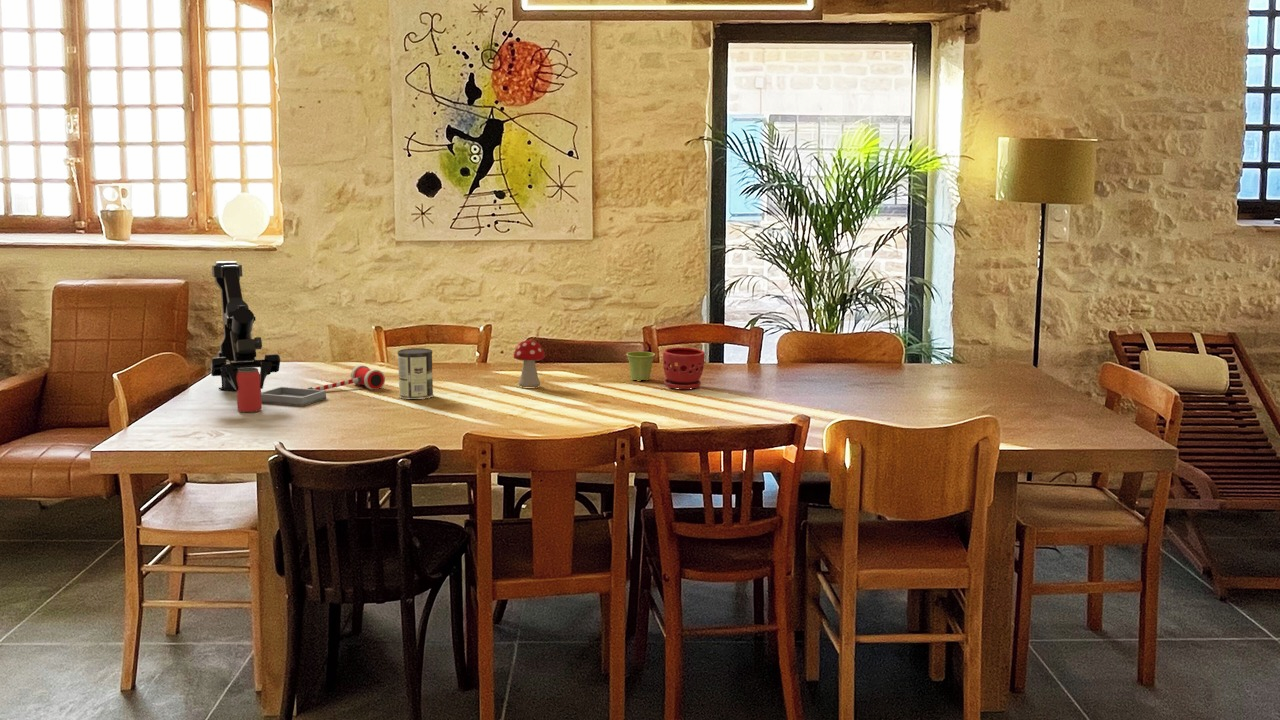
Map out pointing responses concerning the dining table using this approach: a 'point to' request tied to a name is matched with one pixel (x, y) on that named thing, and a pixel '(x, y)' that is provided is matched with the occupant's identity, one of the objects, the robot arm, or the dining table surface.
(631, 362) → the plant pot
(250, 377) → the beer can
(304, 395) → the tray
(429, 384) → the coffee can
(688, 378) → the plant pot
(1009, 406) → the dining table surface
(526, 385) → the decorative mushroom
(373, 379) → the toy hammer
